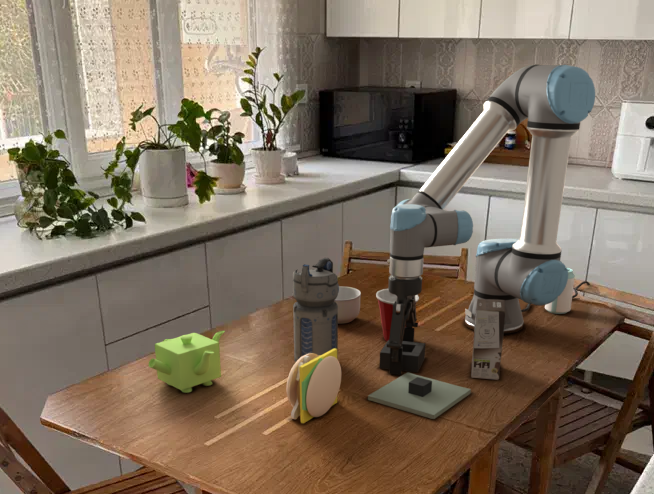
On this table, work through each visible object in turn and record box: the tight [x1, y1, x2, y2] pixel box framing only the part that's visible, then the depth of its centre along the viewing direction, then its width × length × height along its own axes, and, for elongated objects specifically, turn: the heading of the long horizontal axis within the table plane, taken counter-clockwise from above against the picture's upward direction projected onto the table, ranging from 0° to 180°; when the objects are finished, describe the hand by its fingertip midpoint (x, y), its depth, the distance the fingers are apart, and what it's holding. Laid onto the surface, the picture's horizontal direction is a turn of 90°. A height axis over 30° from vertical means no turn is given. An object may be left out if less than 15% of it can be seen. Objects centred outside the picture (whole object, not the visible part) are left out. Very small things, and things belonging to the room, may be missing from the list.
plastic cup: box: [375, 288, 420, 342], centre depth 197 cm, size 11×11×12 cm
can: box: [544, 267, 576, 315], centre depth 218 cm, size 7×7×12 cm
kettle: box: [148, 330, 226, 394], centre depth 171 cm, size 15×14×11 cm
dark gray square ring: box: [379, 340, 426, 373], centre depth 183 cm, size 9×9×4 cm
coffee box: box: [470, 299, 506, 381], centre depth 176 cm, size 9×6×16 cm
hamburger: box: [285, 348, 342, 424], centre depth 158 cm, size 12×8×12 cm
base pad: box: [367, 371, 472, 420], centre depth 166 cm, size 16×16×4 cm
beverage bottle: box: [292, 257, 340, 363], centre depth 179 cm, size 10×13×25 cm
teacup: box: [335, 286, 362, 324], centre depth 213 cm, size 14×11×8 cm
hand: (401, 363), depth 184 cm, fingers open, 13 cm apart
